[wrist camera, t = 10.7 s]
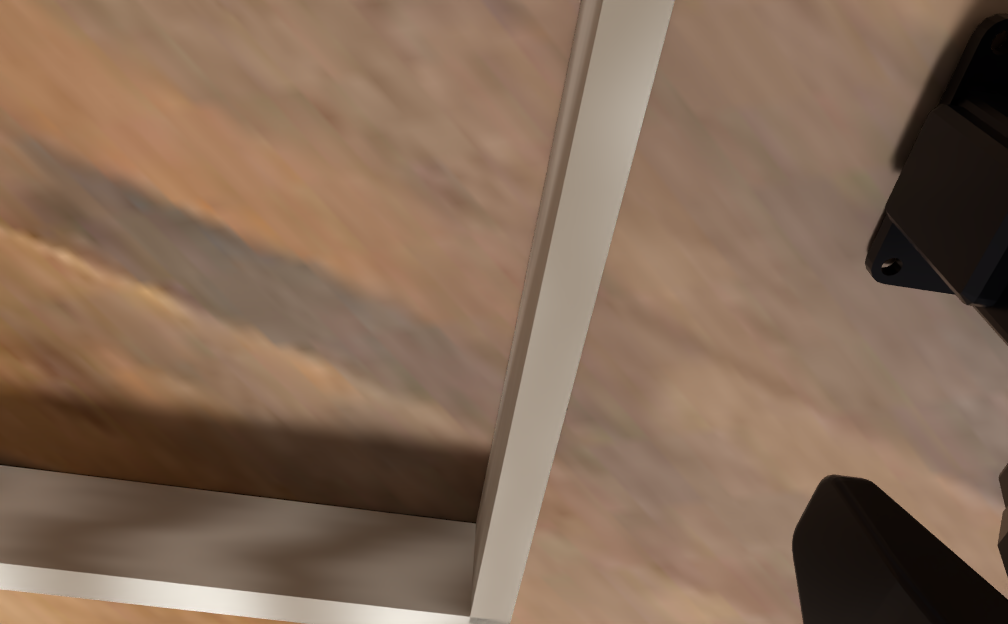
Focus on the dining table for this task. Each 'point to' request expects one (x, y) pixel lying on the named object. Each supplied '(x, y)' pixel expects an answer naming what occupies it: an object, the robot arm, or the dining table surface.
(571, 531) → the dining table surface
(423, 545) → the metal u frame
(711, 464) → the dining table surface
